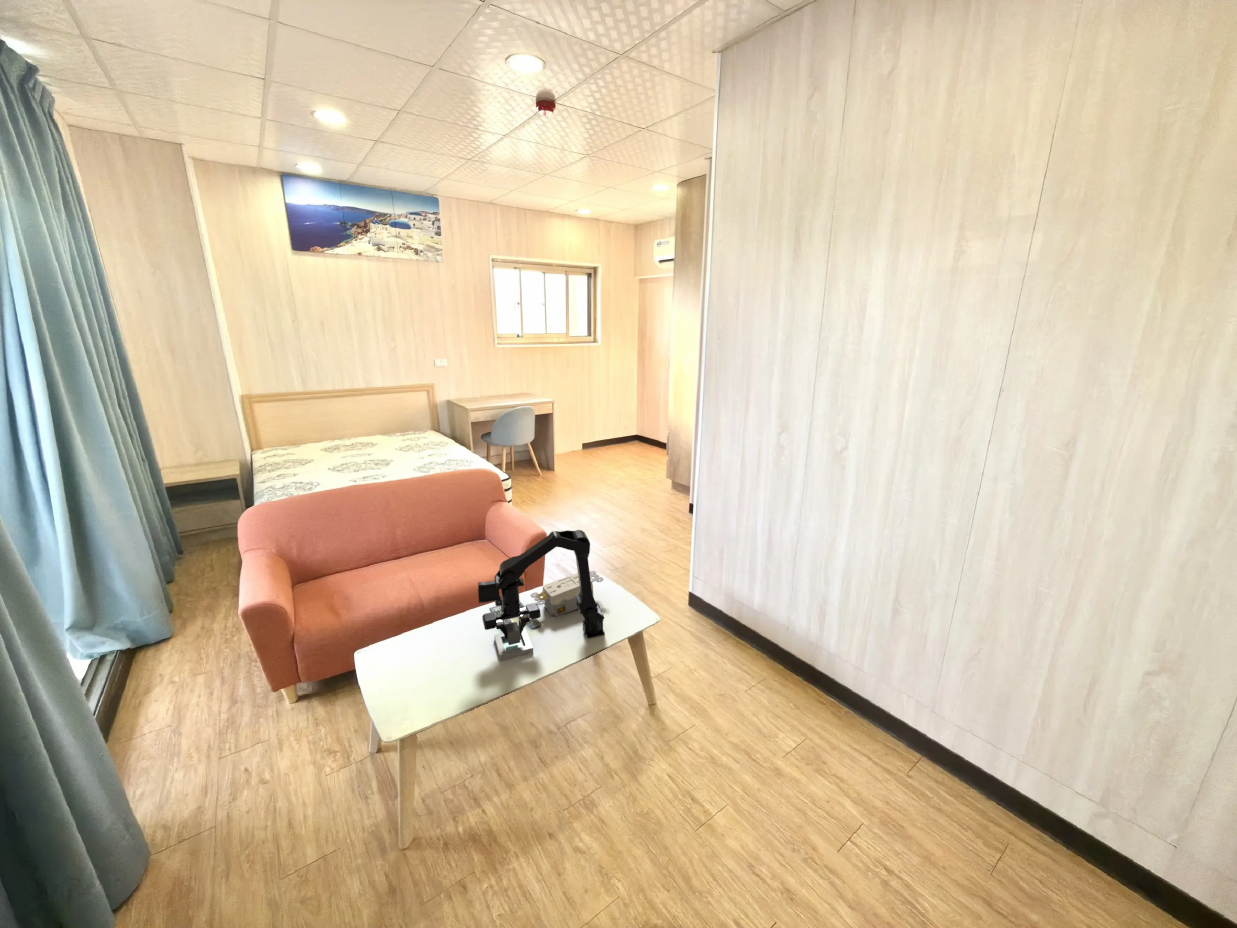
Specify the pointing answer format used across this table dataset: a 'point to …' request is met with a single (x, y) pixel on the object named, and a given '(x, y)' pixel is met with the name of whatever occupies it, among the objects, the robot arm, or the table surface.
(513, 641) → the block
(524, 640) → the socket
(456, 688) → the table surface
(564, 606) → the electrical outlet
